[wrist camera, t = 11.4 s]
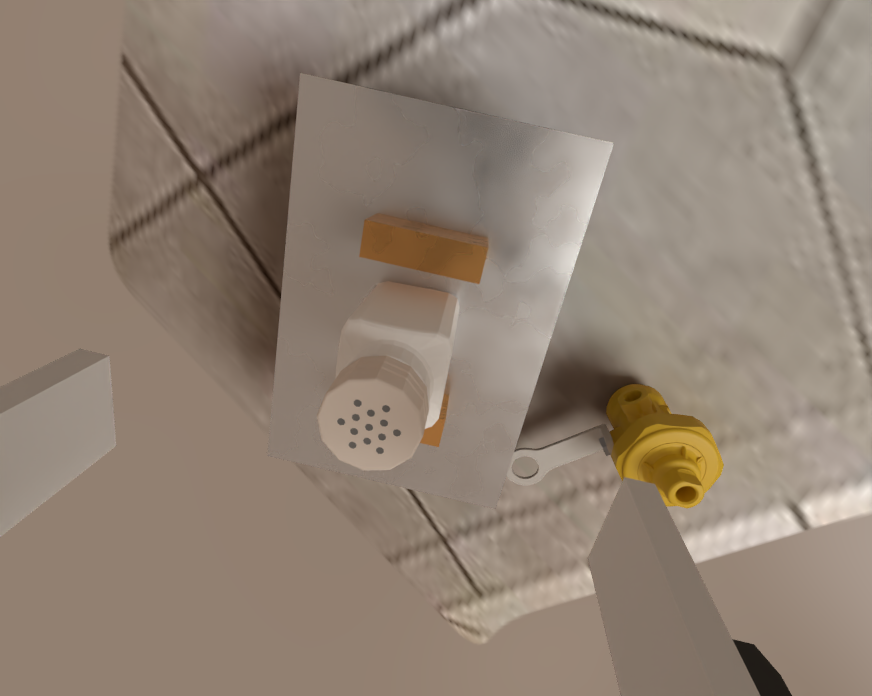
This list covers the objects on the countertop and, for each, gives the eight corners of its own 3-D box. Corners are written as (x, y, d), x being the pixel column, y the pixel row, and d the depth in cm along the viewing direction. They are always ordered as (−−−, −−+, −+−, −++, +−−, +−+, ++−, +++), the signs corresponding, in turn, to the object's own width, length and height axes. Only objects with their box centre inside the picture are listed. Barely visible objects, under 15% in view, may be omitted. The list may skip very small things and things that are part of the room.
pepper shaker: (368, 353, 24) (298, 469, 15) (377, 275, 22) (307, 352, 13) (447, 369, 24) (424, 494, 15) (462, 291, 22) (447, 380, 13)
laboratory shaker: (346, 96, 27) (261, 57, 17) (583, 149, 27) (645, 144, 17) (311, 384, 35) (237, 481, 24) (499, 428, 35) (506, 544, 24)
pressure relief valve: (679, 417, 33) (756, 519, 24) (520, 477, 36) (532, 589, 27) (651, 351, 31) (722, 432, 22) (487, 419, 34) (488, 517, 25)
